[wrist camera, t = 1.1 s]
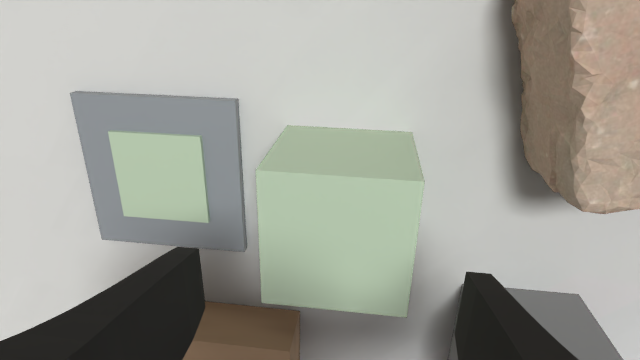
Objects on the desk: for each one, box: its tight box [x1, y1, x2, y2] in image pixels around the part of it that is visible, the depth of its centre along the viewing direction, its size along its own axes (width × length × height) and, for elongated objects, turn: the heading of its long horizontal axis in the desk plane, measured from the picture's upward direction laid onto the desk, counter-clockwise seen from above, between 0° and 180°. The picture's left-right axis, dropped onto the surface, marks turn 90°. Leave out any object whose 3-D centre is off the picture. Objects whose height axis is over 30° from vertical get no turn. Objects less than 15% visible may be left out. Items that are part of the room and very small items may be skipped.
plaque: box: [70, 91, 247, 252], centre depth 18 cm, size 7×7×1 cm
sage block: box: [256, 125, 425, 318], centre depth 16 cm, size 5×5×5 cm
